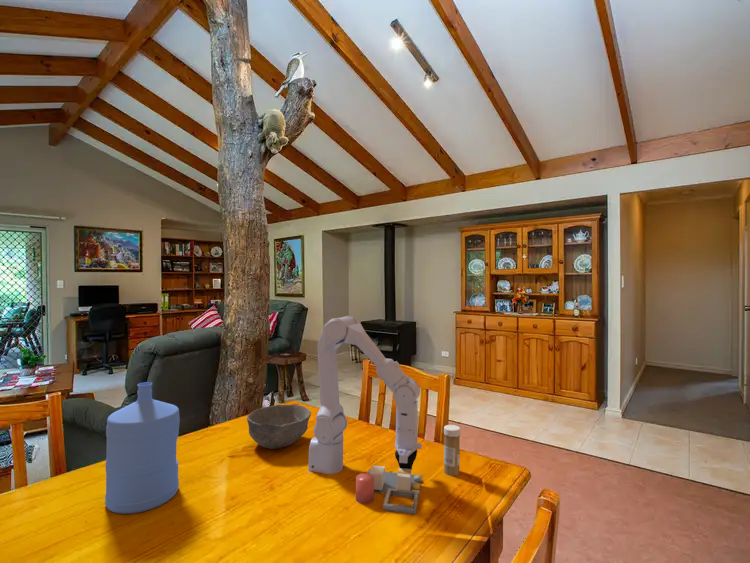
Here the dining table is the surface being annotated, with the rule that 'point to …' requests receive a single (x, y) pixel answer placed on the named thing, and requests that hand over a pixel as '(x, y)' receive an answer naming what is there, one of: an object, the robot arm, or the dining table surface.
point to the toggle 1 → (378, 476)
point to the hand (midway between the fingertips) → (405, 478)
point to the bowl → (278, 425)
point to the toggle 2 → (404, 479)
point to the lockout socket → (400, 507)
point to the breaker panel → (392, 482)
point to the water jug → (141, 454)
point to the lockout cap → (364, 488)
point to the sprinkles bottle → (451, 450)
